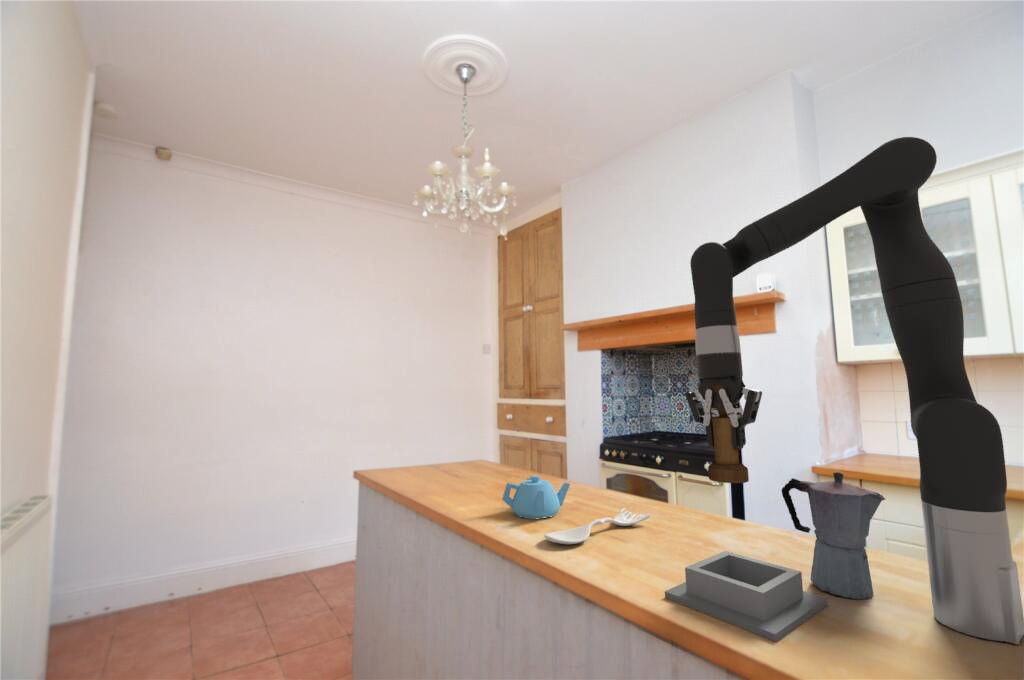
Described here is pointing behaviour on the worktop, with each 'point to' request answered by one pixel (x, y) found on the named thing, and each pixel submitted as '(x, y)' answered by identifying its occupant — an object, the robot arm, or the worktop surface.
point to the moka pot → (838, 534)
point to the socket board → (747, 594)
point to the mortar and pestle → (725, 449)
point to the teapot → (535, 498)
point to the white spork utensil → (584, 531)
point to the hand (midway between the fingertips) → (726, 447)
